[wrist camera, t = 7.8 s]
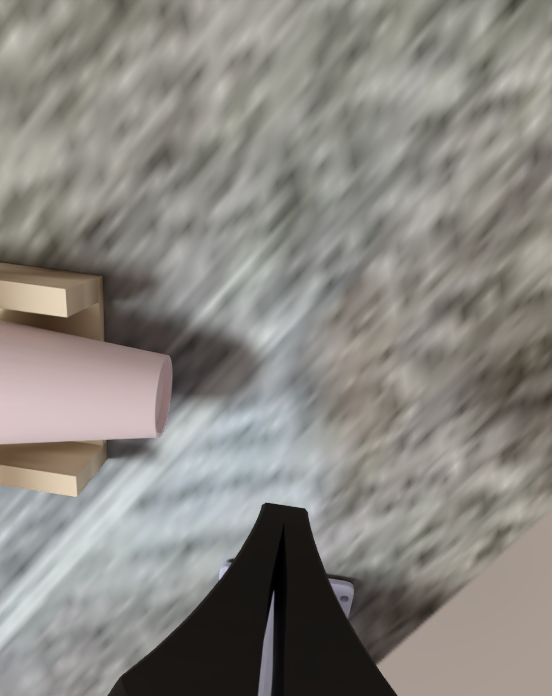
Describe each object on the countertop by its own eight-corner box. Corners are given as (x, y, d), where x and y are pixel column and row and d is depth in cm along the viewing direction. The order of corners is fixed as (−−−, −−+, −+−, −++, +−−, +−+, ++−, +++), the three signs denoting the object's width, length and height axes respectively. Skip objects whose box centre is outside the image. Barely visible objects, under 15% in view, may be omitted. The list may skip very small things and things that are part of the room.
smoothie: (157, 317, 16) (-242, 279, 15) (139, 488, 16) (-269, 461, 15) (181, 331, 22) (-96, 305, 21) (169, 452, 22) (-113, 432, 21)
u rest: (102, 276, 20) (65, 289, 17) (107, 459, 24) (77, 496, 21) (-38, 257, 20) (-98, 267, 17) (-13, 440, 24) (-59, 475, 21)
